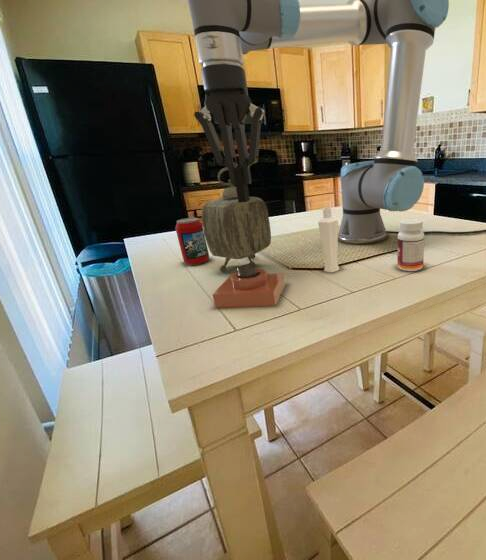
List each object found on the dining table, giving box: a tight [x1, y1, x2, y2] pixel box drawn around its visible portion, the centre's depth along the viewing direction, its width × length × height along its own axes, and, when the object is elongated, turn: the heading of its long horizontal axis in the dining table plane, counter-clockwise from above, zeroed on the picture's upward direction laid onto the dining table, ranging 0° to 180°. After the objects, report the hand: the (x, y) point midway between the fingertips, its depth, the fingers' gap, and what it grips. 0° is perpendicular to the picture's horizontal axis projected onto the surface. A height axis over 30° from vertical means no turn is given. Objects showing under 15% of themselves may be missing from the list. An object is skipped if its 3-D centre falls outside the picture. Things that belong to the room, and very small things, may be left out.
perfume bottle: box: [317, 207, 340, 273], centre depth 80 cm, size 5×4×15 cm
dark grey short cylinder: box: [236, 263, 259, 278], centre depth 69 cm, size 4×4×2 cm
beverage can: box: [175, 217, 210, 266], centre depth 93 cm, size 7×7×12 cm
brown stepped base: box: [212, 267, 286, 309], centre depth 70 cm, size 12×10×5 cm
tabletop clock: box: [201, 166, 272, 273], centre depth 84 cm, size 14×9×25 cm, turn 151°
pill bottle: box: [397, 218, 425, 272], centre depth 79 cm, size 6×6×11 cm
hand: (244, 201), depth 69 cm, fingers closed
